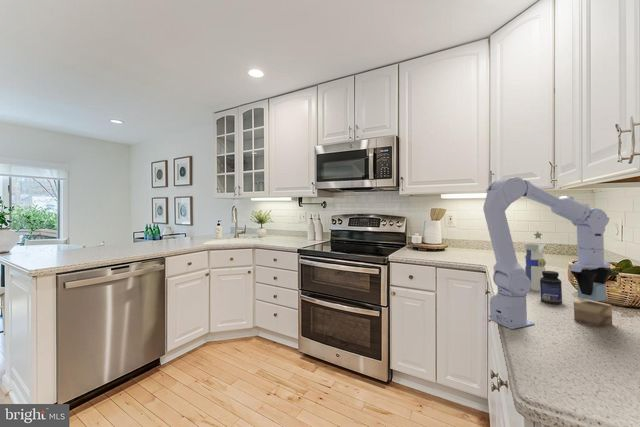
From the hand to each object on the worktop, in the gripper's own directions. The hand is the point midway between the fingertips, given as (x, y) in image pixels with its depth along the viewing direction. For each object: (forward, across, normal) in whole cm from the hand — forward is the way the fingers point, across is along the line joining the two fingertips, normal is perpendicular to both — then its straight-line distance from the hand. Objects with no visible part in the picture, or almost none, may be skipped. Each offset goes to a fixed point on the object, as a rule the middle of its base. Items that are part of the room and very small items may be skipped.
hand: (591, 293), depth 84 cm
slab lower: (+9, 0, 0) cm, 9 cm away
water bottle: (+9, +22, +31) cm, 39 cm away
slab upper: (+6, 0, 0) cm, 6 cm away
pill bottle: (+9, +9, +17) cm, 21 cm away
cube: (+2, 0, 0) cm, 2 cm away
